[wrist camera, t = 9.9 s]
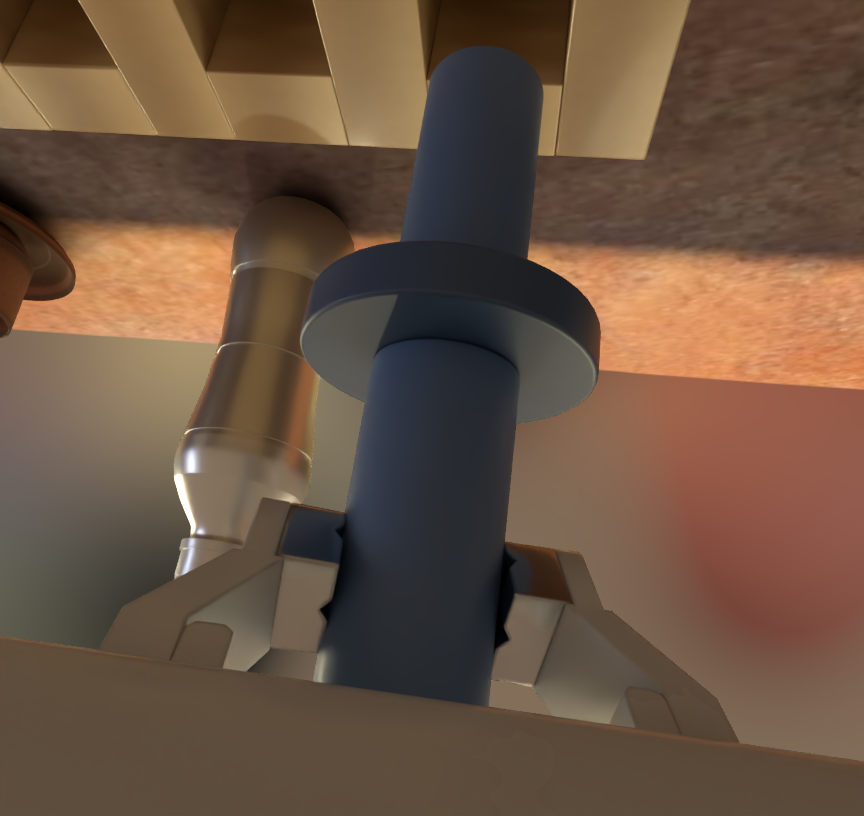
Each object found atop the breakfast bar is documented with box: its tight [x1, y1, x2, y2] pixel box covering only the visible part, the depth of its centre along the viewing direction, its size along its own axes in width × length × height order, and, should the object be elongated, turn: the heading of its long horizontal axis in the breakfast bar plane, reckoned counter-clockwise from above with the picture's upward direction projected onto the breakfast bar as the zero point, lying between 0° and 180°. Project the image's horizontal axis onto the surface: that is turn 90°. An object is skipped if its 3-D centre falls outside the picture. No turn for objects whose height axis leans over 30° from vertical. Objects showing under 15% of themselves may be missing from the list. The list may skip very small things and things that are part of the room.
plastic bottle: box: [174, 196, 355, 579], centre depth 35 cm, size 6×7×20 cm
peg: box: [300, 46, 601, 707], centre depth 13 cm, size 6×6×13 cm
